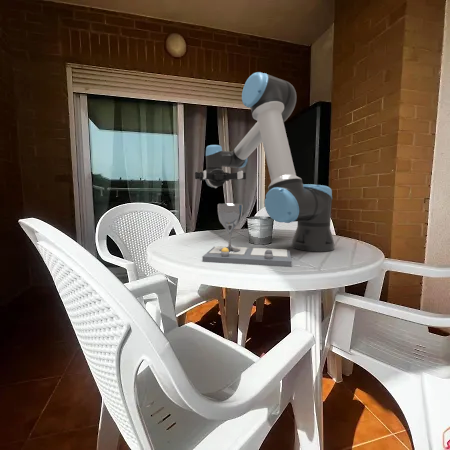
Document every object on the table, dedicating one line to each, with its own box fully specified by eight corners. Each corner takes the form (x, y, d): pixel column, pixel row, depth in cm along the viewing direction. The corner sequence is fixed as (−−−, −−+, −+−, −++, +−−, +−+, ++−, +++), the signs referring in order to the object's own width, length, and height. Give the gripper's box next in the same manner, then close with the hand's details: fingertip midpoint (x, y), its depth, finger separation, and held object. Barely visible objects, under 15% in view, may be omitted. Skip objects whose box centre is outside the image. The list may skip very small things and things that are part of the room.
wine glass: (216, 252, 84) (216, 204, 82) (218, 247, 92) (218, 203, 90) (242, 252, 84) (242, 204, 82) (241, 247, 92) (242, 203, 90)
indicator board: (289, 254, 90) (289, 242, 90) (291, 266, 76) (291, 252, 75) (214, 250, 95) (214, 239, 95) (202, 261, 81) (202, 248, 80)
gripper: (244, 186, 122) (256, 184, 101) (188, 186, 118) (189, 184, 97) (244, 169, 121) (256, 164, 100) (188, 169, 117) (189, 163, 96)
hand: (223, 174), depth 99 cm, fingers open, 13 cm apart
